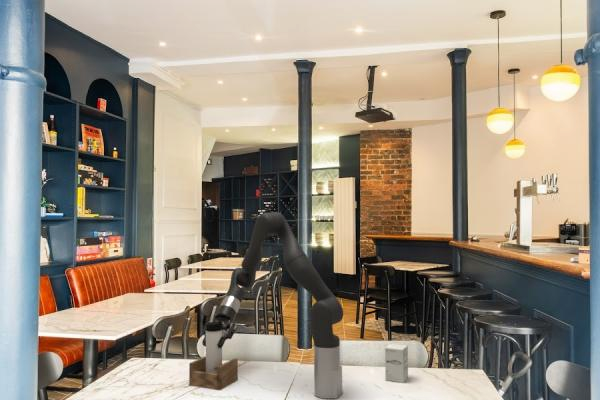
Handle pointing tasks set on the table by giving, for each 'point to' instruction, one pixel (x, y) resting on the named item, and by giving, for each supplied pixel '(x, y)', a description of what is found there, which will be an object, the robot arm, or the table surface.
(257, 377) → the table surface
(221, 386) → the cradle
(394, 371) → the supplement box
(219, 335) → the travel mug
